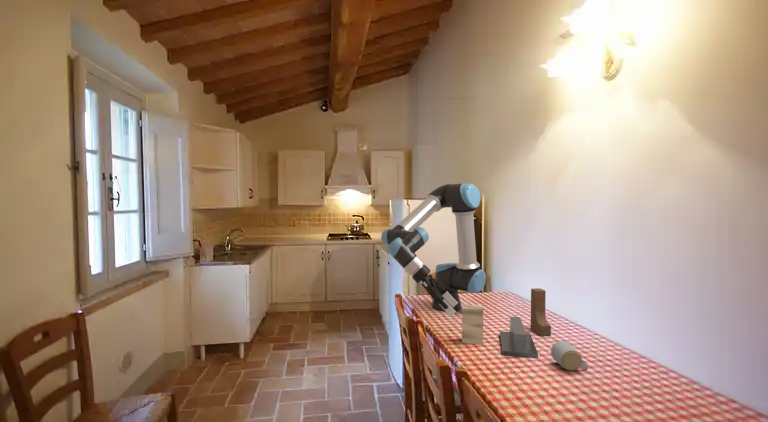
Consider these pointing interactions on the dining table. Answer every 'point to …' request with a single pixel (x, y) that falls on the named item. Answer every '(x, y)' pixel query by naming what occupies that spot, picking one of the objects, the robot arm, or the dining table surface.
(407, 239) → the robot arm
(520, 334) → the gray t-shaped block
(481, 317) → the birch post
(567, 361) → the ceramic mug
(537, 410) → the dining table surface
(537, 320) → the wooden block
